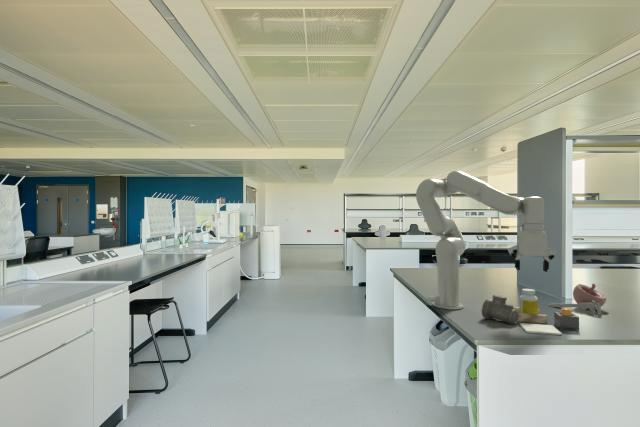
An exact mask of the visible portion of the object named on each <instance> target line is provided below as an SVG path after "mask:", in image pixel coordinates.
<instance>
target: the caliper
mask: <svg viewBox="0 0 640 427" xmlns="http://www.w3.org/2000/svg"><path fill="white" fill-rule="evenodd" d="M592 302H593V303H580V304H577V303H551V302H550V303H549V304H547V305H546V306H547V307H551V308H552V307H553V308H580V310H590V312H591V314H592V315H593V316H595V315H597V314H598V316H601V315H602V307H600V304H599V303H597V300H596V301H594V300H592ZM589 308H590V309H589ZM594 308H596V309H594ZM596 311H597V314H596Z"/></svg>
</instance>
